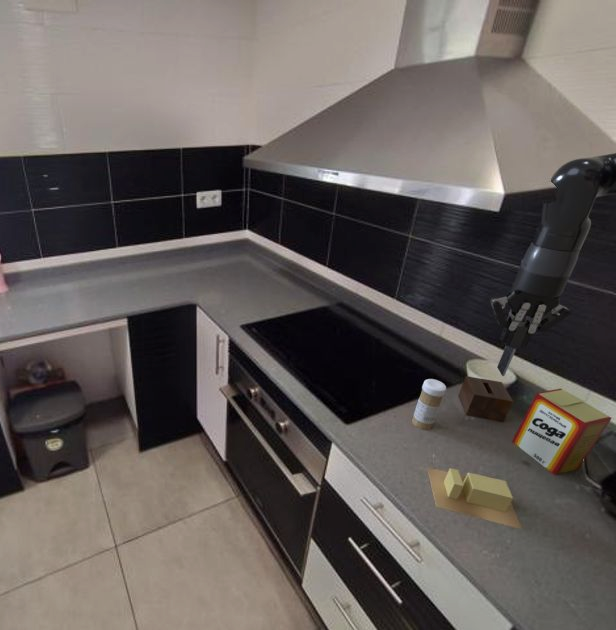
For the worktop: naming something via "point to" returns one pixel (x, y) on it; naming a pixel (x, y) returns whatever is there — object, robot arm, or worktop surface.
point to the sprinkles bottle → (428, 403)
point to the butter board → (465, 507)
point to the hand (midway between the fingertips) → (512, 344)
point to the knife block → (485, 399)
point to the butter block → (487, 492)
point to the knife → (512, 347)
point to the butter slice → (453, 483)
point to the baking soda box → (560, 430)
